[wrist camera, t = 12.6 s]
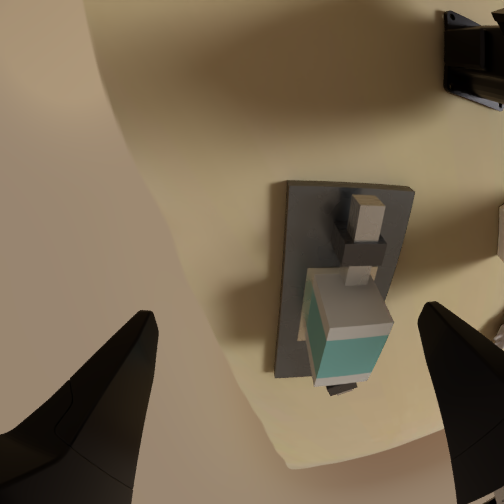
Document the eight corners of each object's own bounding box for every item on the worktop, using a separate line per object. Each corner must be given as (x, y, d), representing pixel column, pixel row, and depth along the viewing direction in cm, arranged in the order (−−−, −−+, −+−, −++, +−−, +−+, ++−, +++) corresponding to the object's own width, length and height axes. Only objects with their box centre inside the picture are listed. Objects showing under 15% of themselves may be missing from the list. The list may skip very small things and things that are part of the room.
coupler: (351, 332, 25) (367, 380, 21) (304, 335, 25) (314, 386, 21) (369, 272, 22) (394, 322, 17) (314, 274, 22) (329, 328, 17)
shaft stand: (408, 186, 19) (436, 210, 16) (354, 364, 30) (362, 394, 27) (287, 180, 19) (296, 205, 16) (274, 370, 30) (276, 402, 27)
